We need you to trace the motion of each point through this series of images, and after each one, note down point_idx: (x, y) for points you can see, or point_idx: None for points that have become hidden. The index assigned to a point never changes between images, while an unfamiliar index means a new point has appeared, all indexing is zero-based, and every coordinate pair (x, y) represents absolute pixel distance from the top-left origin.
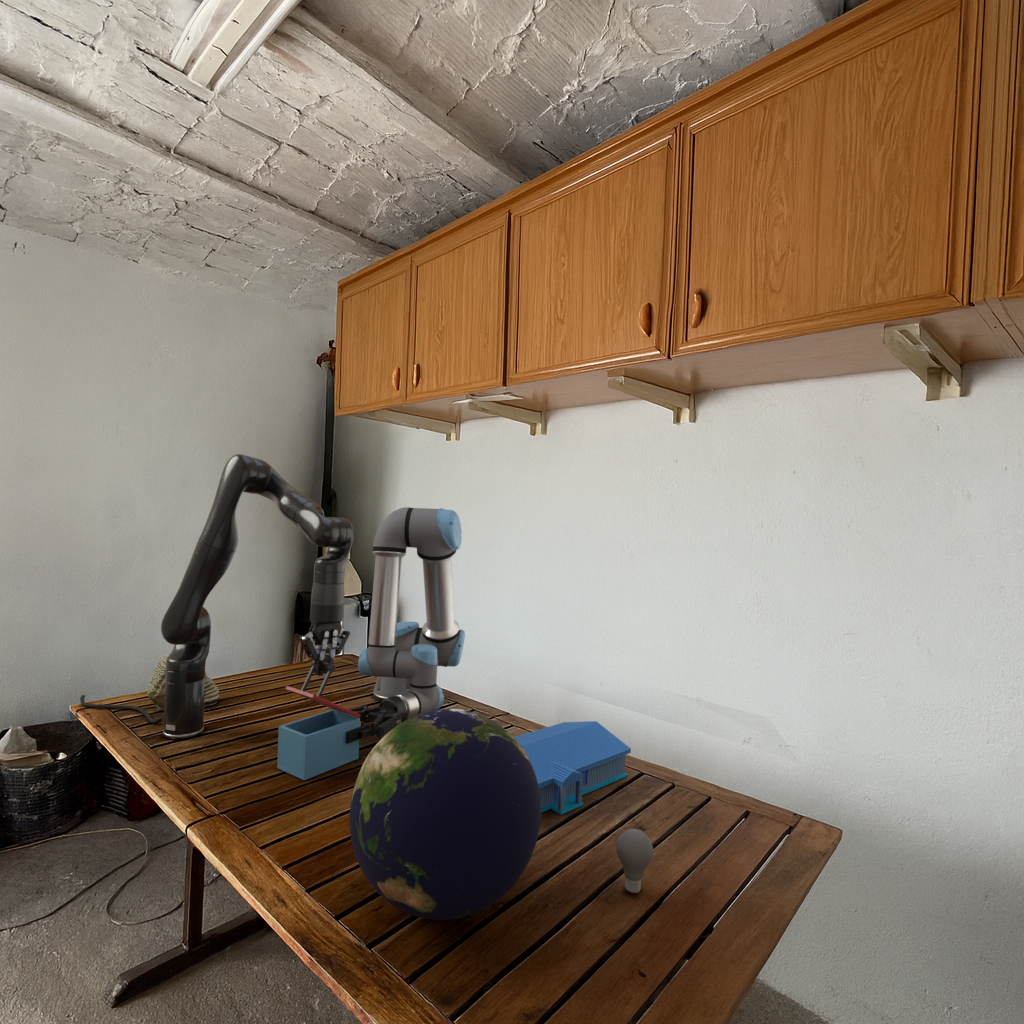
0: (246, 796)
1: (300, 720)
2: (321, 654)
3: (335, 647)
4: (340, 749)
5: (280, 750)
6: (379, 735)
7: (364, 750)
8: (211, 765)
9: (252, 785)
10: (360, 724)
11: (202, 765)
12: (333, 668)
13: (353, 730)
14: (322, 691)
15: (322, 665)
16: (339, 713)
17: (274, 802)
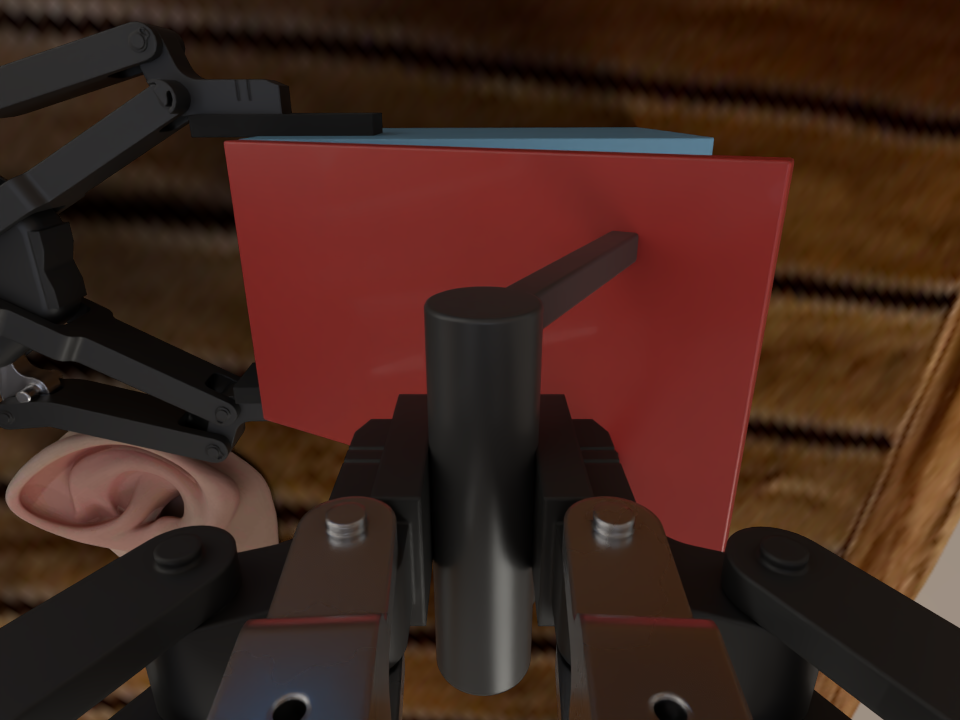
0: (875, 190)
1: None
2: (643, 570)
3: (279, 618)
4: (423, 131)
5: None
6: (172, 33)
7: (222, 187)
8: (743, 516)
9: (789, 260)
10: (63, 436)
11: None
12: (468, 300)
13: (328, 114)
14: (599, 239)
15: (563, 453)
16: None
17: (863, 42)
